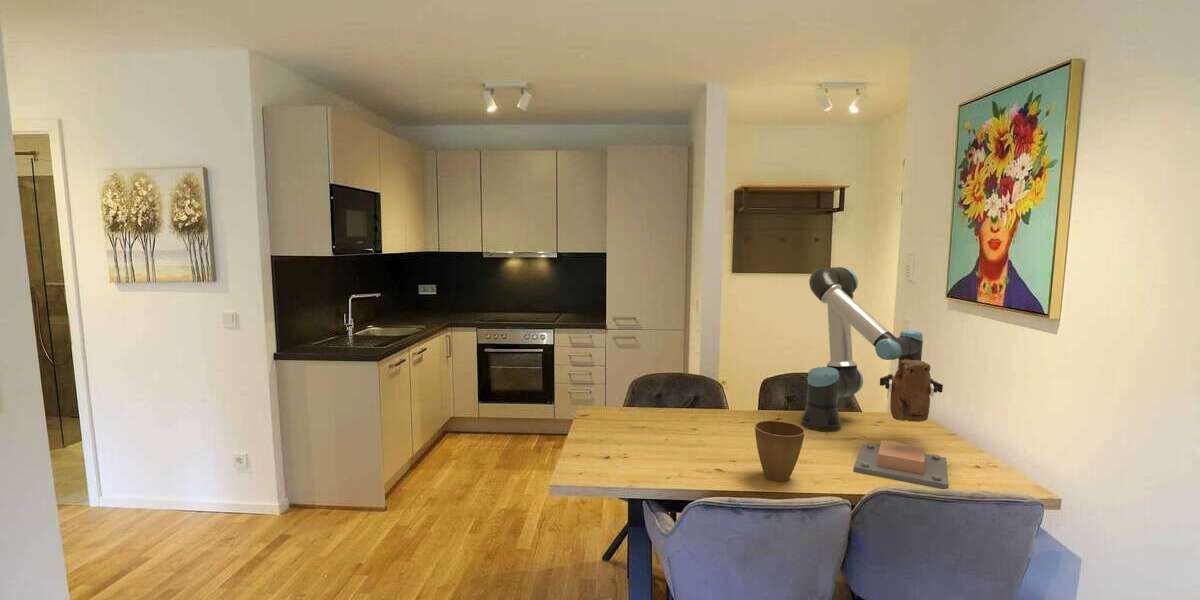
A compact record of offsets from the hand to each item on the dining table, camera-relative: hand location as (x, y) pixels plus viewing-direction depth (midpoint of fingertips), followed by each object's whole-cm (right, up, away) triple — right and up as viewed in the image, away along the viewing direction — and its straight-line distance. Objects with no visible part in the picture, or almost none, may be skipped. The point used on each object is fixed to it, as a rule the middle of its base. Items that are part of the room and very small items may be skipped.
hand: (911, 389), depth 182 cm
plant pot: (-46, -26, -8) cm, 54 cm away
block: (+2, -11, +4) cm, 12 cm away
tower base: (-2, -26, +2) cm, 26 cm away
